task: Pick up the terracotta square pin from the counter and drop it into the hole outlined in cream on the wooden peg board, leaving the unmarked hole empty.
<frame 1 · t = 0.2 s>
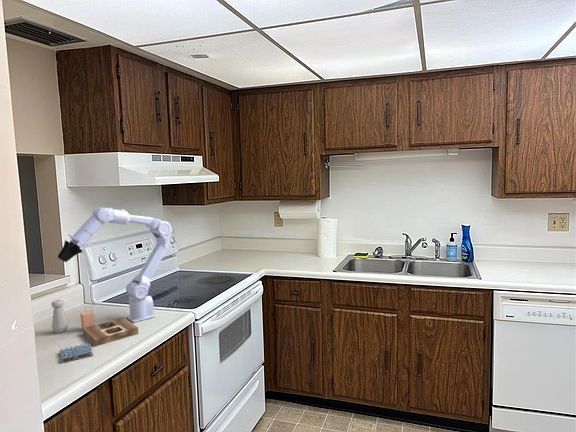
hand: (61, 259, 162), 31 cm above the worktop, tool tilted 45°, fingers open, 7 cm apart
wooden peg board: (110, 333, 167), on the worktop
woven mat: (76, 356, 150), on the worktop
salt shaker: (60, 332, 172), on the worktop
pin: (88, 329, 173), on the worktop
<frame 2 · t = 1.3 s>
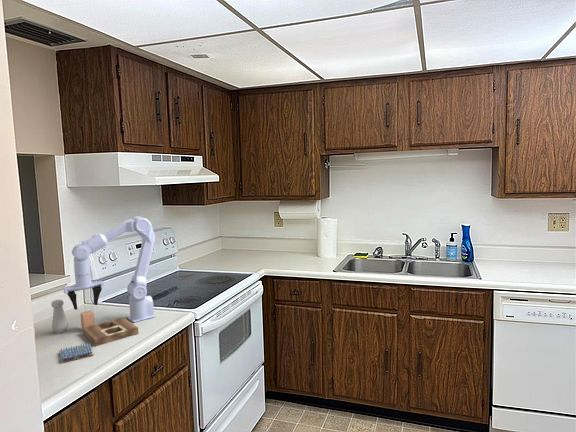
hand: (85, 306, 172), 10 cm above the worktop, tool pointing down, fingers open, 7 cm apart
nothing on the worktop moved.
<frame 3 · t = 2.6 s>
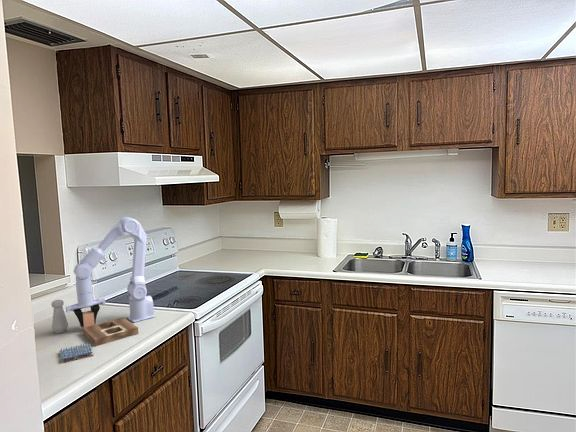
hand: (88, 324, 173), 2 cm above the worktop, tool pointing down, fingers closed on pin, 4 cm apart
pin: (88, 329, 173), on the worktop, touching gripper
everything else where it was.
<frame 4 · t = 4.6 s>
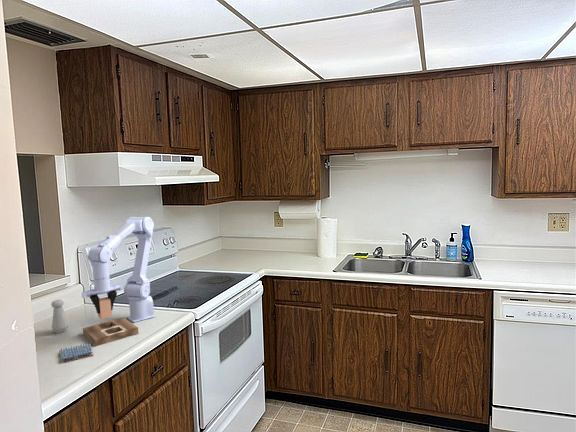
hand: (104, 311, 165), 9 cm above the worktop, tool pointing down, fingers closed on pin, 4 cm apart
pin: (105, 316, 166), point 7 cm above the worktop, touching gripper
everything else where it was.
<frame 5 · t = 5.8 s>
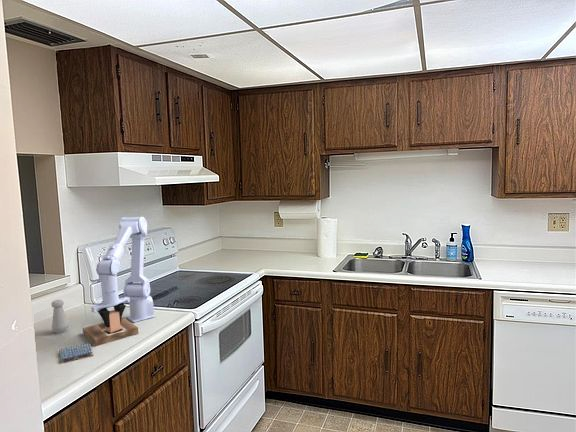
hand: (113, 324, 163), 5 cm above the worktop, tool pointing down, fingers closed on pin, 4 cm apart
pin: (113, 329, 164), point 3 cm above the worktop, touching gripper
everything else where it was.
when the fingers open (3 cm above the worktop, at t = 6.5 s): pin drops 1 cm, resting in wooden peg board.
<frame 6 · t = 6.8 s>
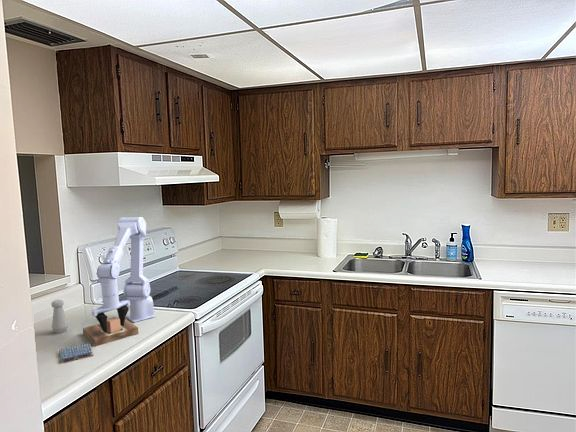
hand: (113, 328, 164), 3 cm above the worktop, tool pointing down, fingers open, 6 cm apart
pin: (113, 336, 164), resting in wooden peg board
everything else where it was.
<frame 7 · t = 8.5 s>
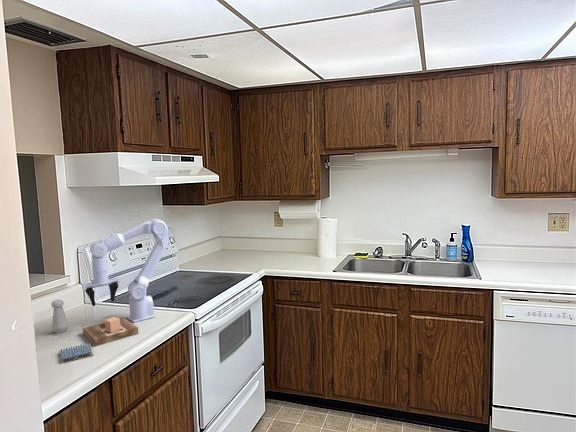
hand: (103, 303, 176), 9 cm above the worktop, tool pointing down, fingers open, 7 cm apart
nothing on the worktop moved.
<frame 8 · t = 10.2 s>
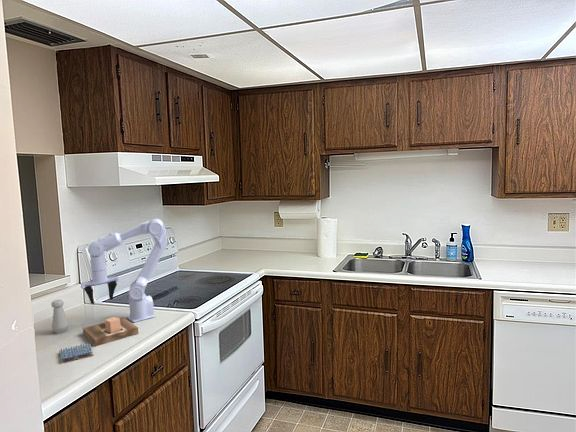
hand: (101, 301, 179), 9 cm above the worktop, tool pointing down, fingers open, 7 cm apart
nothing on the worktop moved.
at the end: pin 0.3 cm from the target spot on the wooden peg board, point 0.0 cm above the wooden peg board's base; pin tilted 0°; the gripper is holding nothing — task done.
